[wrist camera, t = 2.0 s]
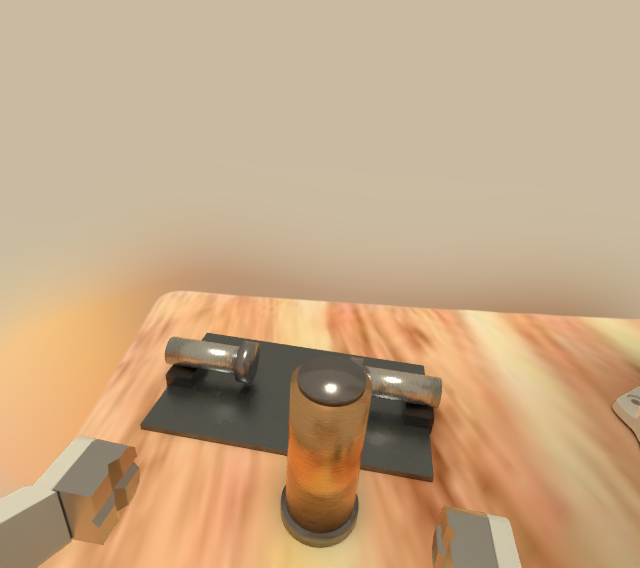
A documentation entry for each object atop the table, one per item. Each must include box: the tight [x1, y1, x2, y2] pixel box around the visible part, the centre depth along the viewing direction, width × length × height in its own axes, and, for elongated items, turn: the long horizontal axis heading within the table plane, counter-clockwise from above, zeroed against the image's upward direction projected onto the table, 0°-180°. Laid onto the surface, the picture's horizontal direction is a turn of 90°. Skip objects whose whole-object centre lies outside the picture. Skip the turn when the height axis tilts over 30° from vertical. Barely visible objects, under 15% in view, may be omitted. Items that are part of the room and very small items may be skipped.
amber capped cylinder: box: [281, 355, 372, 547], centre depth 27 cm, size 5×5×12 cm
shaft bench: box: [140, 333, 442, 482], centre depth 39 cm, size 25×14×5 cm, turn 81°
